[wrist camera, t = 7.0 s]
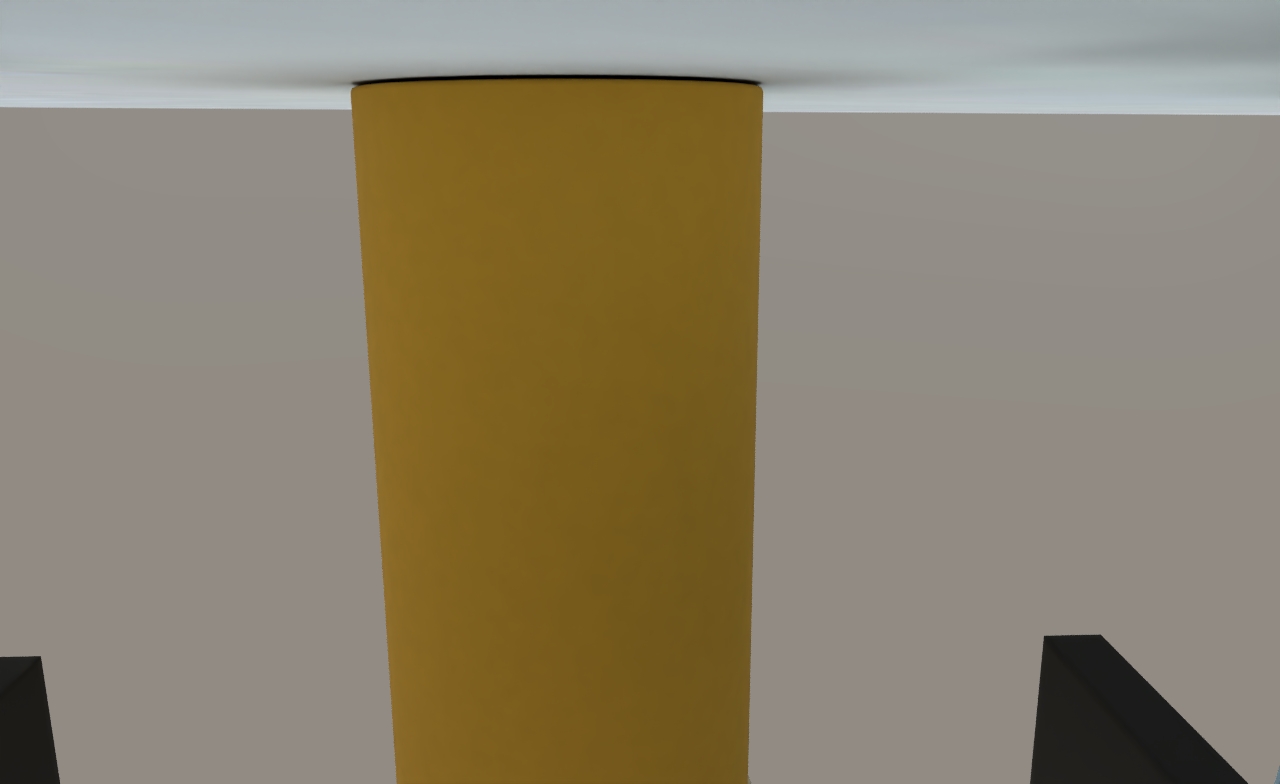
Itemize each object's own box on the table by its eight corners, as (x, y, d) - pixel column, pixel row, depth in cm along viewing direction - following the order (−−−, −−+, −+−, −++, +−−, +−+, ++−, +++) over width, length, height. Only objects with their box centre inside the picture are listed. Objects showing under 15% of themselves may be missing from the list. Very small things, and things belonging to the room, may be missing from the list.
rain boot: (283, 77, 14) (357, 978, 17) (809, 77, 14) (780, 966, 17) (450, 105, 29) (472, 584, 32) (704, 104, 29) (699, 580, 32)
